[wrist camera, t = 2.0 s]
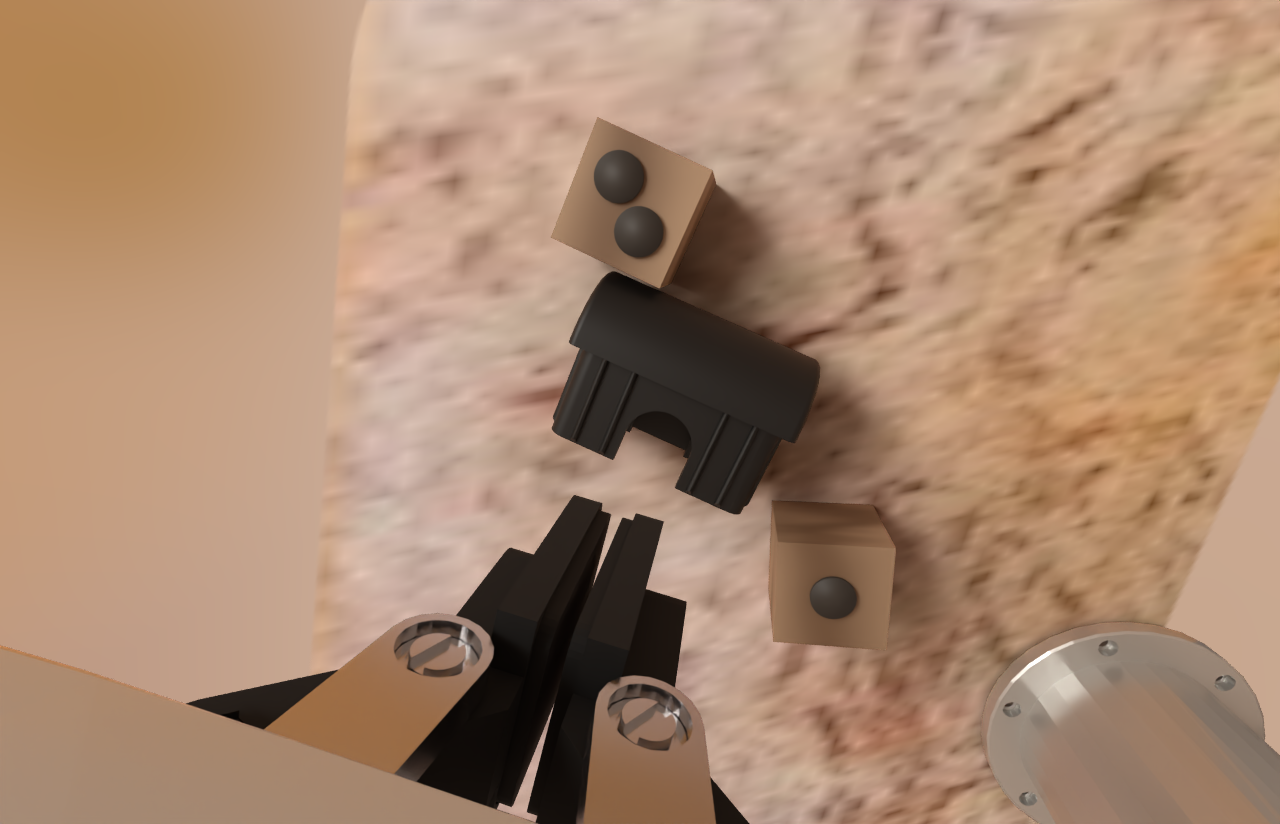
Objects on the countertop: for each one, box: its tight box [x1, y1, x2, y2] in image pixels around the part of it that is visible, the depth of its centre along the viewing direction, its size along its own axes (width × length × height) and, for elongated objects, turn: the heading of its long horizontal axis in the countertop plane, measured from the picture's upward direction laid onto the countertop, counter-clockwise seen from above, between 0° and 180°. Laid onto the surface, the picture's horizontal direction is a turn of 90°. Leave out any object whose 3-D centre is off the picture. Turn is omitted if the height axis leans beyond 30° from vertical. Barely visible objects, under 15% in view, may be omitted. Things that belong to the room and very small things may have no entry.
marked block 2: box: [768, 501, 896, 650], centre depth 31 cm, size 5×5×5 cm
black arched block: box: [552, 272, 820, 514], centre depth 29 cm, size 10×7×7 cm
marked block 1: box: [551, 117, 716, 289], centre depth 28 cm, size 5×5×5 cm
